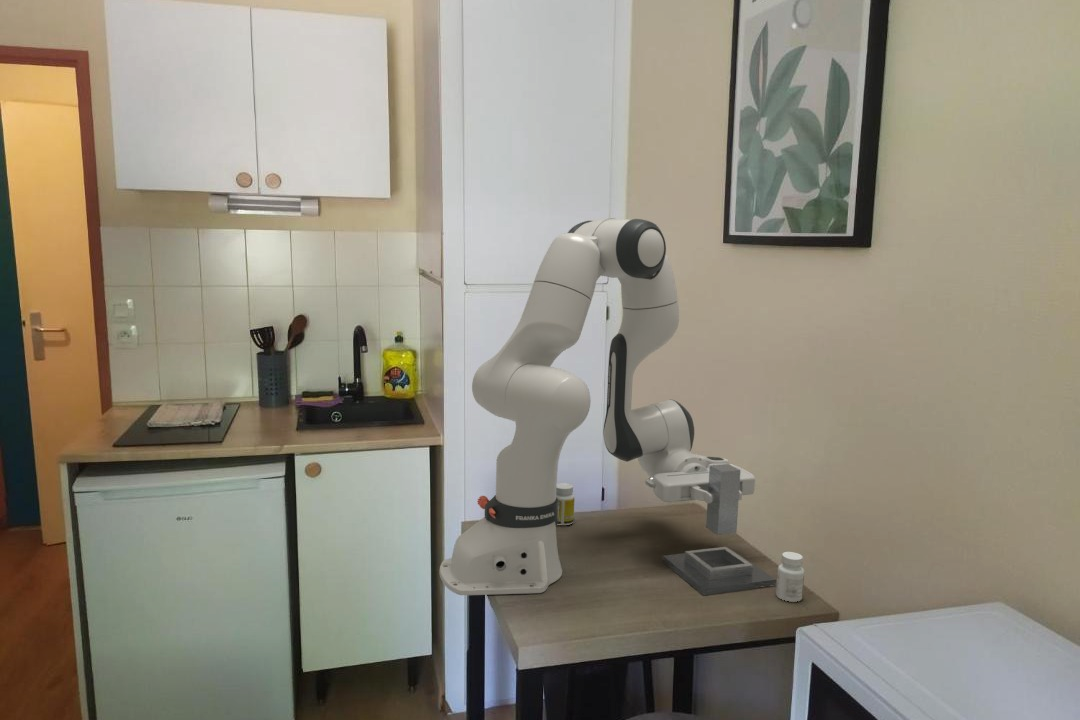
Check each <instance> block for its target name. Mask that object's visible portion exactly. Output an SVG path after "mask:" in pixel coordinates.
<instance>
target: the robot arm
mask: <svg viewBox="0 0 1080 720" xmlns="http://www.w3.org/2000/svg"><path fill="white" fill-rule="evenodd" d="M665 240H666V239H665V237H664V234H663V233H662V230H661V229H660V228H659V226H658V225H657V224H656V223H654V222H652V221H649V220H647V219H642V218H633V219H628V218H627V219H626V218H616V217H615V218H614V217H611V218H602V219H597V220H585V221H581V222H579V223H577V224H575V225H574V226H572V227H571V228H570V229H569V230H568V232H566V233H563V234H562V233H561V234H559V235H558V236H556V237H555V238H554V239H553V240H552V242H551V244H550V245H549V247H548V249H547V251H546V252H545V254H544V257H543V259H542V261H541V263H540V265H539V268H538V270H537V271H536V272H537V273H536V275H535V278H534V280H533V284H532V286H531V289H530V293H529V295H528V298H527V301H526V304H525V306H524V309H523V311H522V314H521V316H520V319H519V322H518V324H517V325H516V327H515V329H514V331H513V332H512V334H511V335H510V337H509V338H508V339H507V341H506V342H505V344H504V345H502V348H501V349H500V350H499V351H498V352H497V353H496V354H495V355H494V356H492V358H490V359H488V360H486V361H484V362H483V363H482V364H481V365H480V366H478V368H477V370H476V371H475V373H474V376H473V378H472V382H471V383H472V384H471V390H472V396H473V398H474V400H475V402H476V403H477V404H478V405H479V406H480V407H481V408H483V409H484V410H486V411H487V412H489V413H491V415H493V416H495V417H498V418H502V419H505V420H508V421H512V422H515V432H514V435H513V439H512V441H511V443H510V444H509V445H507V446H505V447H504V448H502V449H501V450H500V452H499V453H498V454H497V457H496V462H495V463H496V465H495V466H496V469H495V471H496V472H495V473H496V474H495V495H494V496H493V497H492V498H490V499H489V498H488V497H487V496H485V495H480V496H479V497H478V498H477V505H478V506H479V507H480V508H481V509H482V510H484V517H483V518H481V519H480V520H479V521H478V522H476V523H475V524H473V525H472V526H471V527H469V528H468V529H467V530H466V531H464V532H462V533H461V534H460V535H459V536H458V537H457V538H456V540H455V543H454V545H453V546H454V547H453V550H452V555H451V557H449V558H446V559H444V560H443V561H442V562H441V563H440V566H439V571H438V574H439V577H440V579H441V582H442V584H443V585H444V587H446V588H447V589H448V590H449V591H450V592H452V593H454V594H456V595H459V596H483V595H484V596H486V595H491V596H492V595H512V594H513V595H518V594H519V595H520V594H521V595H523V594H541V593H544V592H546V590H547V589H548V587H549V586H550V585H551V584H553V583H555V582H557V581H558V580H559V579H560V578H561V576H562V574H563V568H562V565H561V561H560V556H559V550H558V539H557V527H558V525H557V523H558V514H559V508H558V498H557V497H556V487H557V484H558V483H557V482H558V481H557V480H558V471H559V470H558V469H559V461H560V460H559V459H560V456H561V452H562V450H563V447H564V445H565V442H566V440H567V439H568V437H569V436H570V434H571V433H572V432H573V431H574V430H576V429H578V428H579V427H580V426H581V425H582V424H583V423H584V421H586V419H587V418H588V417H587V416H588V414H589V412H590V408H591V394H590V393H591V392H590V389H589V387H588V385H587V384H586V382H585V381H584V380H583V379H582V378H580V377H578V376H577V375H575V374H572V373H571V372H568V371H567V370H565V369H562V368H557V367H553V366H552V365H553V363H554V361H555V360H556V359H557V358H558V356H560V355H562V353H563V352H565V351H566V350H568V349H570V348H572V347H573V346H574V345H576V343H577V342H578V341H579V339H580V337H581V334H582V331H583V329H584V325H585V322H586V318H587V316H588V312H589V309H590V306H591V303H592V300H593V297H594V294H595V289H596V284H597V281H598V280H599V279H600V277H606V278H611V279H612V278H616V279H618V281H619V283H620V286H621V287H620V290H621V293H620V295H621V306H622V319H621V324H620V327H619V329H618V332H617V334H616V335H614V336H613V338H612V339H611V342H610V345H609V346H610V347H609V354H608V355H609V356H608V368H607V369H608V370H607V390H606V391H607V393H606V395H607V396H606V409H605V410H606V413H605V418H604V423H603V433H602V434H603V441H604V445H605V448H606V450H607V451H608V453H609V454H610V455H612V456H614V458H617V459H618V460H620V461H623V462H628V463H629V462H631V461H633V460H635V459H637V461H638V464H639V466H640V468H641V469H642V471H643V472H644V473H645V474H646V475H647V476H649V478H647V479H645V481H644V483H645V486H646V485H647V487H649V488H652V492H653V494H654V495H655V496H656V498H658V499H659V500H660V501H662V502H663V503H664V502H665V503H676V502H677V503H678V502H688V501H701V502H705V503H706V504H707V503H708V504H709V503H716V494H715V493H713V492H712V491H708V485H709V468H710V465H722V464H729V465H731V466H733V467H735V468H737V469H739V470H741V471H740V486H739V501H742V499H743V496H749V495H753V494H754V493H755V489H756V476H755V475H754V474H753V473H751V472H750V471H748V470H746V469H744V468H742V467H740V466H738V465H736V464H732V463H730V460H729V459H727V458H724V457H719V456H718V457H717V456H705V455H701V454H699V453H695V454H694V453H692V452H691V451H692V448H693V445H694V439H695V425H694V420H693V417H692V416H691V414H690V412H689V411H688V410H687V409H686V408H685V406H683V404H681V403H680V402H678V401H677V400H674V399H669V400H664V401H659V402H656V403H652V404H648V405H645V406H641V407H637V408H633V409H632V401H633V400H632V399H633V398H632V397H633V379H634V374H635V372H636V370H637V368H638V366H639V365H640V364H641V363H642V362H643V361H644V360H645V359H646V358H648V357H649V356H650V355H651V354H653V353H654V352H656V351H657V350H659V349H661V348H662V347H663V346H664V345H666V344H667V343H668V342H669V341H670V340H671V339H672V338H673V336H674V335H675V333H676V332H677V330H678V327H679V321H680V312H679V311H680V310H679V299H678V292H677V287H676V281H675V276H674V273H673V272H674V271H673V268H672V264H671V262H670V259H669V257H668V255H667V246H666V245H667V244H666V241H665Z"/></svg>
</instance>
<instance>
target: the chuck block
mask: <svg viewBox="0 0 1080 720" xmlns="http://www.w3.org/2000/svg"><path fill="white" fill-rule="evenodd" d="M662 563H664V565H666V566H667V567H669V568H670V569H671V570H672V571H673V572H675V573H676V575H678V576H679V577H681V578H682V579H683V580H684V581H685V582H686V583H688V584H689V585H690V586H692V588H693V589H694V590H696V591H697V592H698V593H700V594H701V595H702V596H703V597H704V596H709V595H717V594H725V593H732V592H734V593H735V592H741V591H745V590H746V589H748V590H752V589H751V588H756V587H761V586H770V585H776V586H777V578H774V577H773V576H772V575H770V574H769V573H767V572H766V571H765V570H763V569H761V568H760V567H758V566H757V565H755V563H753V562H751V561H750V560H748V559H747V558H745V557H744V556H742V555H741V554H740V553H738V552H737V551H735V550H734V549H732V548H730V547H729V548H728V547H727V546H720V547H713V548H711V547H710V548H702V549H694V550H686V551H684V552H683V553H677V554H676V553H675V554H669V555H668V554H667V555H662ZM756 589H757V588H756Z"/></svg>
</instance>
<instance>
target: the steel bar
mask: <svg viewBox="0 0 1080 720" xmlns="http://www.w3.org/2000/svg"><path fill="white" fill-rule="evenodd" d="M729 464H730V463H729ZM729 464H722V465H710V468H709V485H708V491H712V492H713V493H715V494H716V503H709V504H708V503H706V504H707V508H706V521H705V522H706V524H705V528H706V529H708V530H710V532H712V533H714V534H716V535H717V536H721V535H729V534H736V533H738V532H737V531H738V529H737V528H738V517H739V516H738V515H739V501H740V500H739V486H740V471H741V470H739V469H737V468H735V467H733V466H731V465H729Z"/></svg>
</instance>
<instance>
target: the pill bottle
mask: <svg viewBox="0 0 1080 720" xmlns="http://www.w3.org/2000/svg"><path fill="white" fill-rule="evenodd" d="M803 557H804V556H803V555H802V554H800V553H797V552H793V551H785V552H782V554H781V560H780V561H781V564H779V565H778V568H777V575H776V576H777V577H776V586H775V587H776V589H775V596H776V597H777V598H778V599H780V600H781V599H782V600H781V601H784V600H785V602H787V601H789V603H797V601H798V602H800V601H801V600H802V598H803V592H804V581H805V569H804V568H803V567H802V566H803Z"/></svg>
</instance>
